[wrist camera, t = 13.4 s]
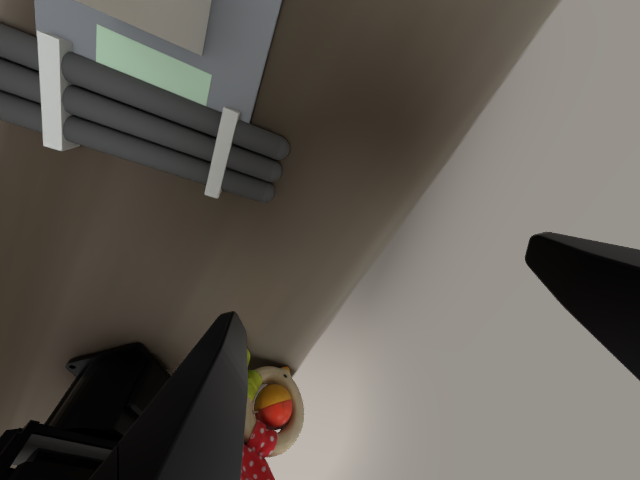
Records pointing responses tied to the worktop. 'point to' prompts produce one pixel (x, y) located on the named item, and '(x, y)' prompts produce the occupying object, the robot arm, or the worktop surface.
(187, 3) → the orange-topped grey block
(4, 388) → the worktop surface
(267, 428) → the bird rattle
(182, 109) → the cord bundle
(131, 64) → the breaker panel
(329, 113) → the worktop surface
